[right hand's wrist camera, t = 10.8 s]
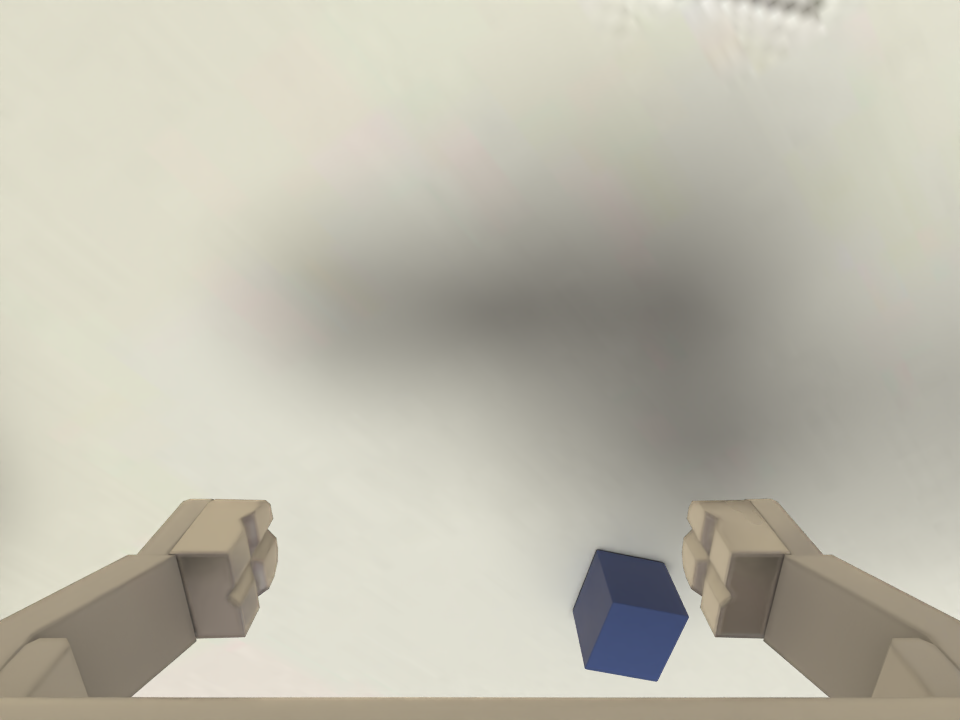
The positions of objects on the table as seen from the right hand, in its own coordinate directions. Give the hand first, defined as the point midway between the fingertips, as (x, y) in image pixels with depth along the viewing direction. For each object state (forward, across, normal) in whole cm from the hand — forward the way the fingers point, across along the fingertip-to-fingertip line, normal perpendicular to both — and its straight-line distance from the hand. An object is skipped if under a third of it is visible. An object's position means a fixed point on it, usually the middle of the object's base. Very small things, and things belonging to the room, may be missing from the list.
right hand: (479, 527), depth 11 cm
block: (+17, +8, -17) cm, 25 cm away
